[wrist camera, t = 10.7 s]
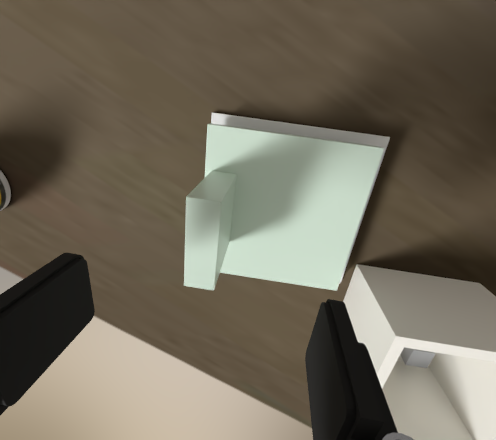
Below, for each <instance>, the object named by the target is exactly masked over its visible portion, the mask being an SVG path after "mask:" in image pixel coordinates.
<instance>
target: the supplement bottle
mask: <svg viewBox="0 0 496 440" xmlns="http://www.w3.org/2000/svg"><path fill="white" fill-rule="evenodd" d="M10 198H11V190H10V186H9V183H8V181H7V179H6V177H5V175H4V174H3V173H2V171H1V170H0V211H1V210H3V209H4V208H5V207H6V206H7V205H8V204H9V202H10Z"/></svg>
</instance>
